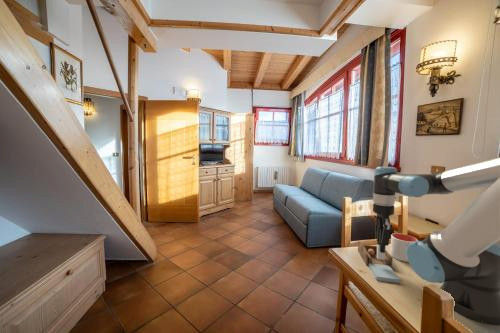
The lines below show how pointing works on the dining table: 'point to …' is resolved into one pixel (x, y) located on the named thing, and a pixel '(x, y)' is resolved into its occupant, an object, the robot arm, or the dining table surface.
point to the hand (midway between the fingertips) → (380, 258)
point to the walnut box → (373, 258)
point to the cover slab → (384, 273)
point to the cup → (400, 245)
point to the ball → (371, 252)
